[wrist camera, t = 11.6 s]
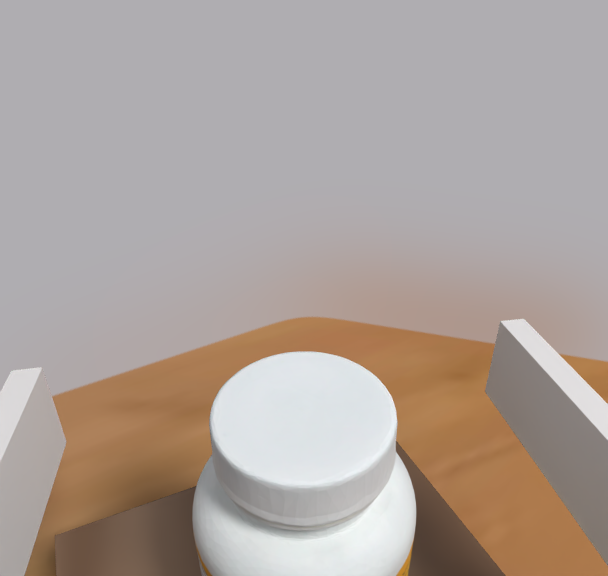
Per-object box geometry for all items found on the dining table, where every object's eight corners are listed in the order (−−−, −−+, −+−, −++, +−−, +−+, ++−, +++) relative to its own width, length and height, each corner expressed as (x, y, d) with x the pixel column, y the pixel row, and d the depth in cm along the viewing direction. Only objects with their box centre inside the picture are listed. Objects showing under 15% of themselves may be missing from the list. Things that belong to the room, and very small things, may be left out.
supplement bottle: (242, 790, 13) (192, 564, 8) (205, 587, 17) (157, 362, 12) (431, 702, 14) (485, 467, 10) (352, 536, 19) (362, 316, 14)
